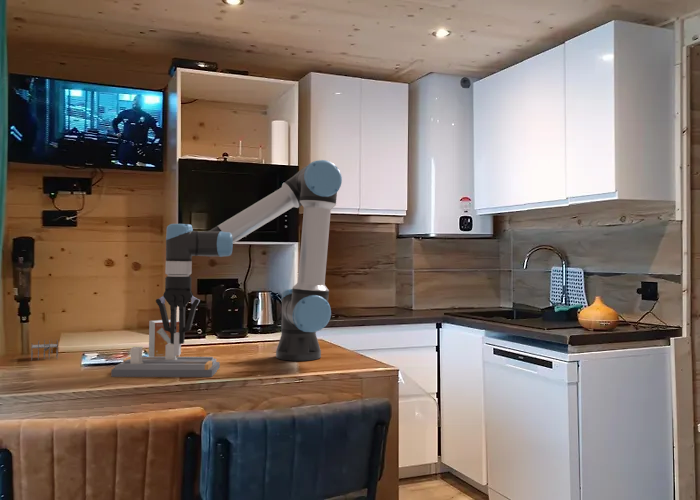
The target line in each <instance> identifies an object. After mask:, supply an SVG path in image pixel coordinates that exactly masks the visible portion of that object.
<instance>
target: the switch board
mask: <svg viewBox="0 0 700 500" xmlns="http://www.w3.org/2000/svg"><path fill="white" fill-rule="evenodd" d="M176 358H177V360H165V357H149V356H142V362H143V364H130V360H131V356H128V357H126V358H124V359H123V360H122V362H120V363H118V364H115V366H114V368H112V369H111V370H110V371H111V373H110V374H111V377H113V378H116V377H117V378H119V377H120V378H122V377H123V378H126V377H127V378H130V377H131V378H213V376H214V375H215V374H216V373H217V372H218V371H219V370H220V369H219V368H220V365H221V363H220V361H217V358H214V356H179V357H176ZM218 369H219V370H218ZM217 370H218V371H217Z"/></svg>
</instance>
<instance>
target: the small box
mask: <svg viewBox="0 0 700 500" xmlns="http://www.w3.org/2000/svg"><path fill="white" fill-rule="evenodd" d="M168 320H169V324H170V319H168ZM148 322H149V324H148V328H149V329H148V333H149V334H148V357H165V352H166V345H167V344H171V342H170V339H171V334H170V332H168V331H165V330H164V326H163V322H162V319H158V320H149V321H148ZM176 330H177V331H176V332H179V320H176ZM176 357H180V355H179V356H176Z"/></svg>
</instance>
